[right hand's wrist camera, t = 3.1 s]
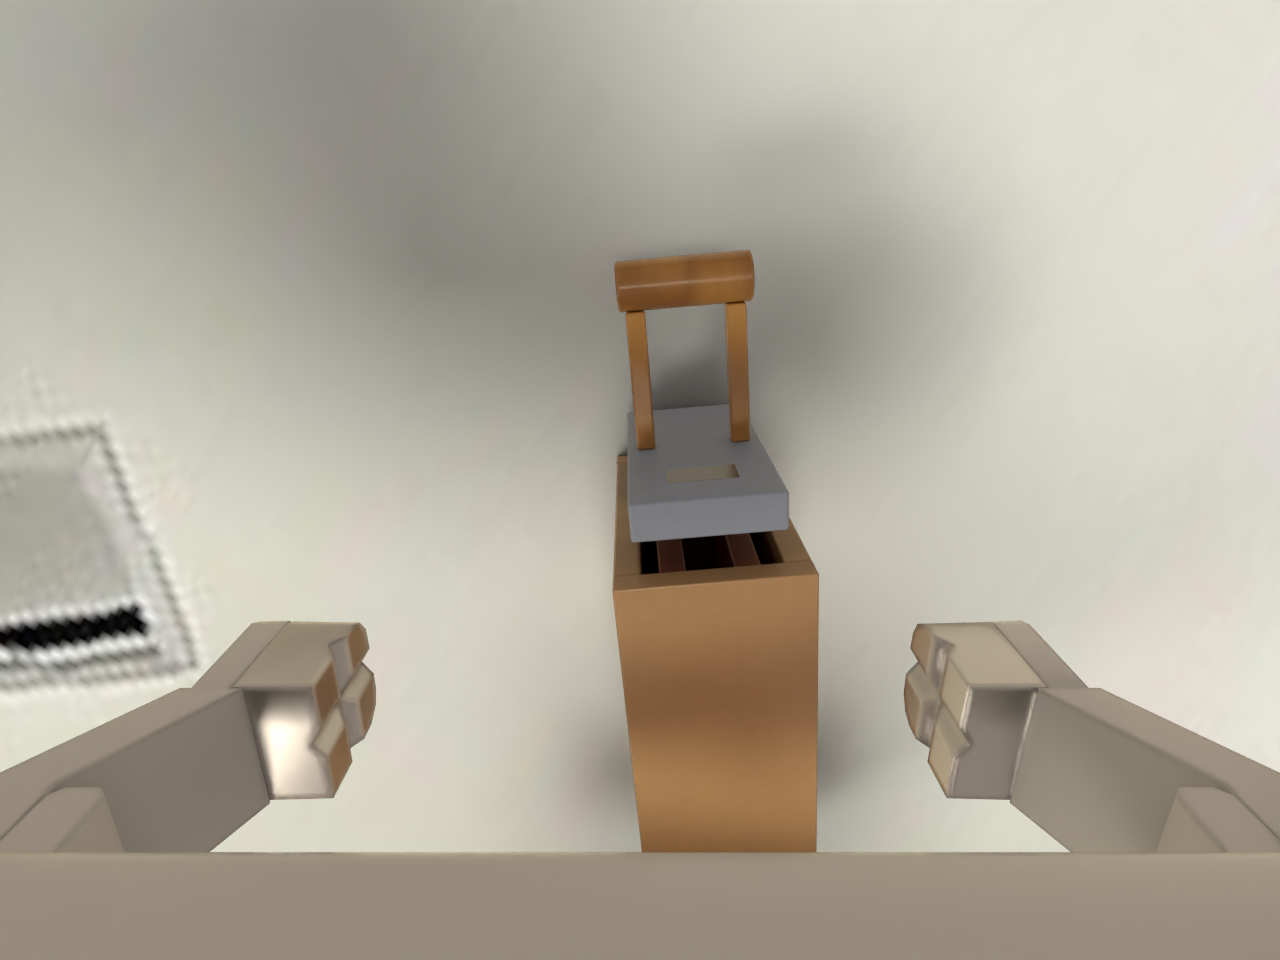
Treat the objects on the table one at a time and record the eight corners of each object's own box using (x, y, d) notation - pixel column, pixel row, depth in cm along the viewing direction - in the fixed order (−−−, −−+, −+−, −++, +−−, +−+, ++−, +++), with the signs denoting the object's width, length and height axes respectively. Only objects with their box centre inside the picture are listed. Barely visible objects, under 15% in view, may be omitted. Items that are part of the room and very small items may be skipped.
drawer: (612, 252, 25) (604, 277, 17) (733, 241, 25) (787, 261, 17) (663, 799, 35) (675, 990, 26) (752, 792, 35) (793, 981, 26)
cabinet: (617, 455, 29) (612, 590, 19) (752, 444, 29) (819, 573, 19) (655, 833, 37) (666, 1072, 27) (762, 825, 37) (815, 1062, 27)
